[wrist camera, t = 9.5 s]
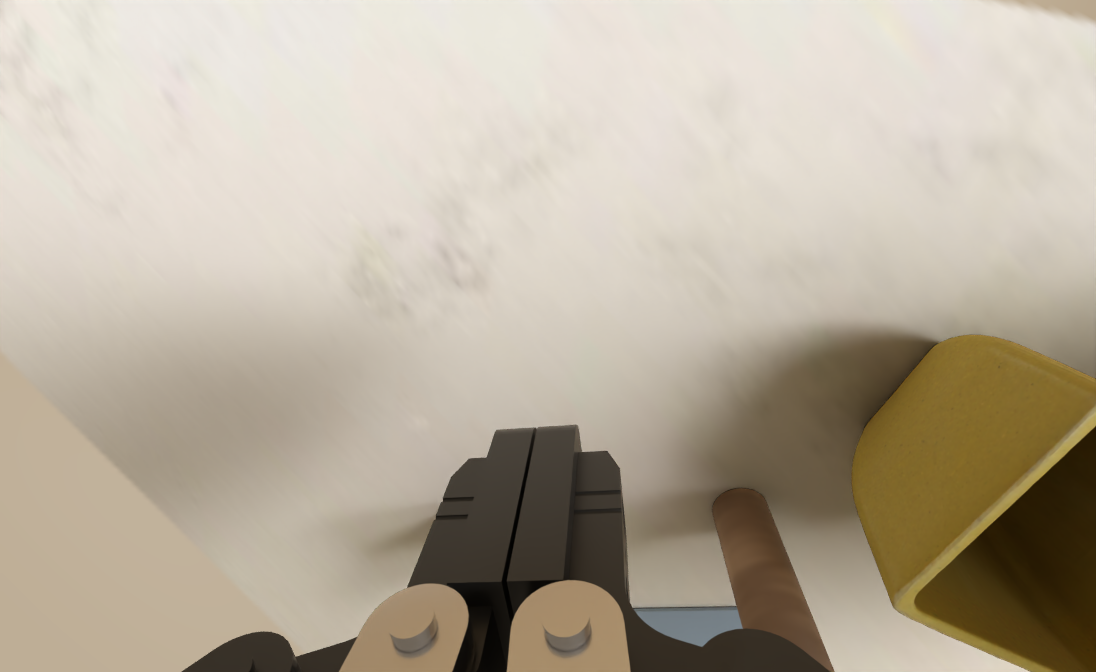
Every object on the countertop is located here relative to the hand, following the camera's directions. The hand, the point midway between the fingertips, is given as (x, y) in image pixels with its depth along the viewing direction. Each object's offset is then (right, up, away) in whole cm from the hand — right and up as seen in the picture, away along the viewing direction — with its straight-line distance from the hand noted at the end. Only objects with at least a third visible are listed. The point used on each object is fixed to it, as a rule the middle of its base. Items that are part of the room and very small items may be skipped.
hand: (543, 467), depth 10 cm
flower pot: (+17, -1, +14) cm, 22 cm away
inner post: (+9, -6, +16) cm, 20 cm away
